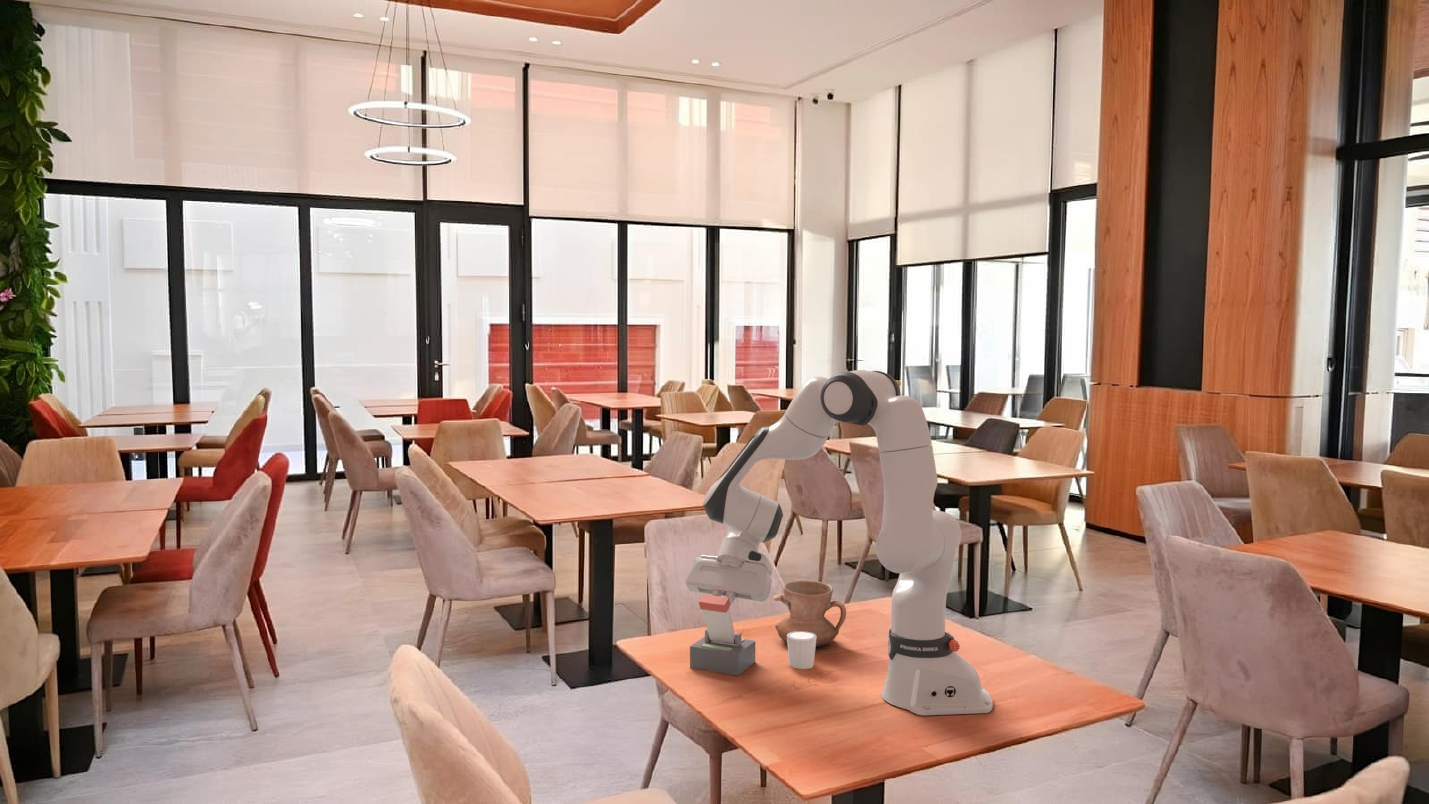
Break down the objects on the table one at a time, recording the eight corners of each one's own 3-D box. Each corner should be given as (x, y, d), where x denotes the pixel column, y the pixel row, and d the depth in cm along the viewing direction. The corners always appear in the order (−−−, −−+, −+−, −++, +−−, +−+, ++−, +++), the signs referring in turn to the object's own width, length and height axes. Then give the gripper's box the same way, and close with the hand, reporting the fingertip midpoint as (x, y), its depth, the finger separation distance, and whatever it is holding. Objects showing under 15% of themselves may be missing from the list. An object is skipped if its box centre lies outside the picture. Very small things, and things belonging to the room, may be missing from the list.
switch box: (708, 654, 228) (708, 622, 228) (755, 662, 223) (755, 629, 223) (689, 667, 219) (690, 634, 219) (738, 675, 214) (738, 641, 214)
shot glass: (816, 660, 225) (816, 631, 224) (816, 670, 218) (816, 640, 217) (786, 659, 225) (787, 629, 225) (786, 669, 219) (786, 639, 218)
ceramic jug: (766, 648, 233) (767, 591, 232) (779, 629, 247) (780, 575, 246) (840, 657, 228) (842, 598, 227) (849, 637, 242) (851, 582, 241)
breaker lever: (713, 635, 223) (703, 594, 217) (738, 639, 221) (728, 597, 215) (708, 643, 221) (698, 601, 215) (734, 647, 219) (724, 605, 213)
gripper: (692, 547, 228) (673, 598, 220) (772, 556, 219) (755, 610, 212) (700, 561, 233) (682, 611, 225) (779, 571, 224) (762, 624, 216)
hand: (718, 611), depth 218 cm, fingers closed, pressing on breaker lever
